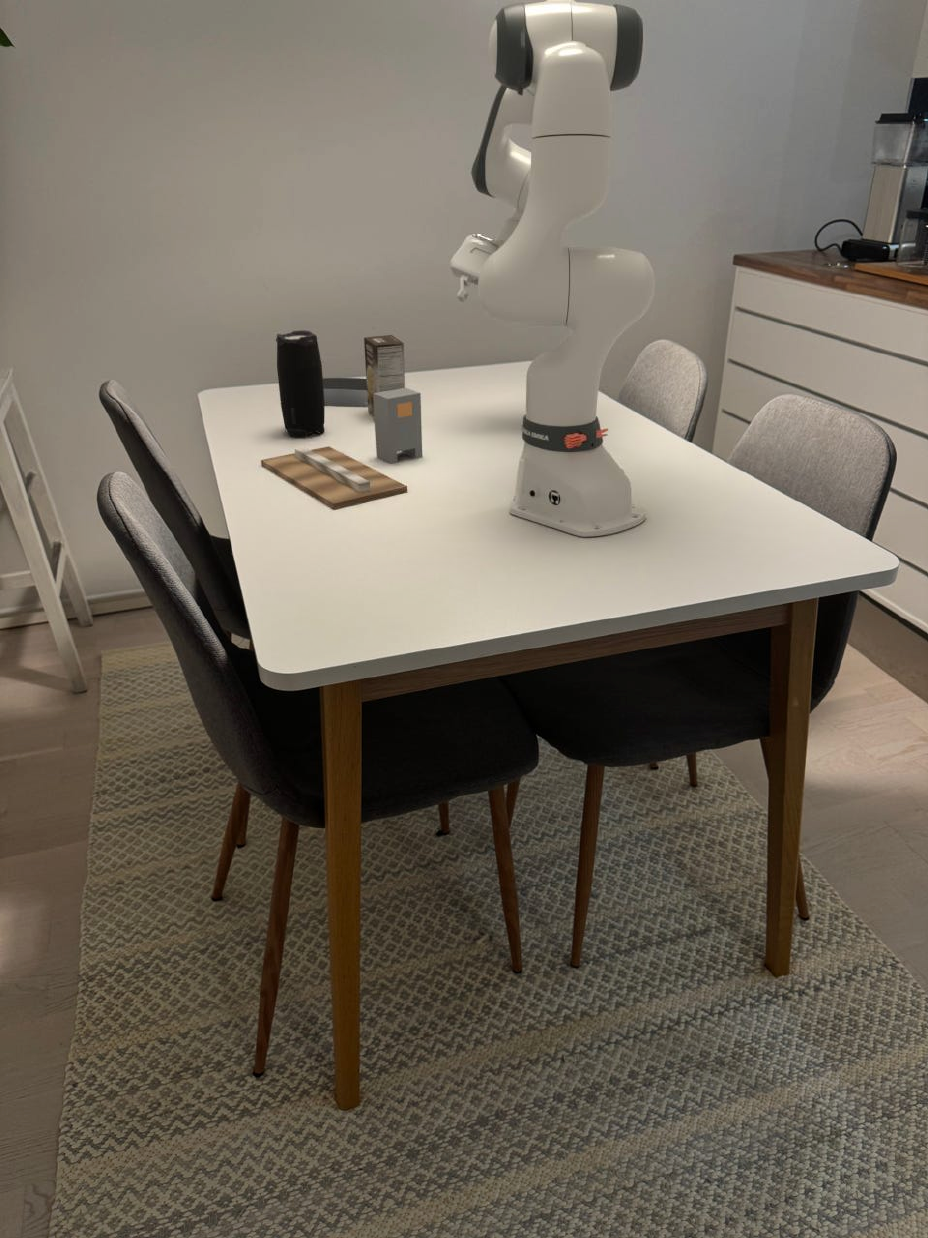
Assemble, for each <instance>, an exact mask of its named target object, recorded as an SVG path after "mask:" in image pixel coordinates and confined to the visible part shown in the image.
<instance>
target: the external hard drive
mask: <svg viewBox="0 0 928 1238" xmlns="http://www.w3.org/2000/svg"><path fill="white" fill-rule="evenodd" d="M323 388H324V403H325V407H337V408H338V407H339V408H342V407H344V408H368V401H367V382H366V378H355V377H327V378H326V377H325V378H324V377H323Z"/></svg>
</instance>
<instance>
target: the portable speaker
mask: <svg viewBox="0 0 928 1238" xmlns="http://www.w3.org/2000/svg"><path fill="white" fill-rule="evenodd" d="M275 342H276V369H277V371H276V372H277V378H278V379H277V380H278V391H279V398H280V408H281V413H282V417H283V423H284V429H285V430H286V432H287V434H288V436H289V437H291V438H298V439H299V438H301V439H303V438H304V439H306V437H307V436H308V434H312V433H318V434H319V435H324V433H325V430H326V429H325V407H326V406H325V403H324V388H323V378H324V376H323V366H322V359H321V354H320V353H321V352H320V348H319V344H318V337H317V335H316V334H315V333H313V332H312V331H310V330H304V329H303V330H301V329H300V330H293V331H291V332H288V333H283V334H281V333H277V334H276V337H275Z"/></svg>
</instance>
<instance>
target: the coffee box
mask: <svg viewBox="0 0 928 1238" xmlns="http://www.w3.org/2000/svg"><path fill="white" fill-rule="evenodd" d="M404 344H405V343H404V342H403V341H401V340H399V339H398V338H397V337H395V336H394V335H392V334H388V335H385V334H384V335H375V336H374V335H373V336H367V337H364V338H363V345H364V361H365V362H364V363H365V379H366V382H367V401H368V407H367V411H368V413H369V414H370V415H371V414H372V415H373V416H374V398H373V393H378V392H384V391H390V390H395V389H401V388H406V375H405V374H406V373H405V372H406V370H405V366H406V365H405V345H404ZM372 415H371V416H372ZM373 416H372V417H373Z"/></svg>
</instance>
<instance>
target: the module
mask: <svg viewBox="0 0 928 1238" xmlns="http://www.w3.org/2000/svg"><path fill="white" fill-rule="evenodd" d="M421 395H422V393H421V392H419V391H416V390H413V389H411V388H407V387H405V388H401V389H395V390H390V391H384V392H378V393H373V398H374V417H373V418H374V432H375V451H376V453H375V454H376V458H378V459H379V460H382V461H383V462H386V463H388V464H390V465H391V464H396V463H398V452H401V453H403V454H406V455H408V456H409V457H412V458H414V459H419V458H423V435H422V433H423V431H422V400H421V399H422V398H421Z"/></svg>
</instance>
